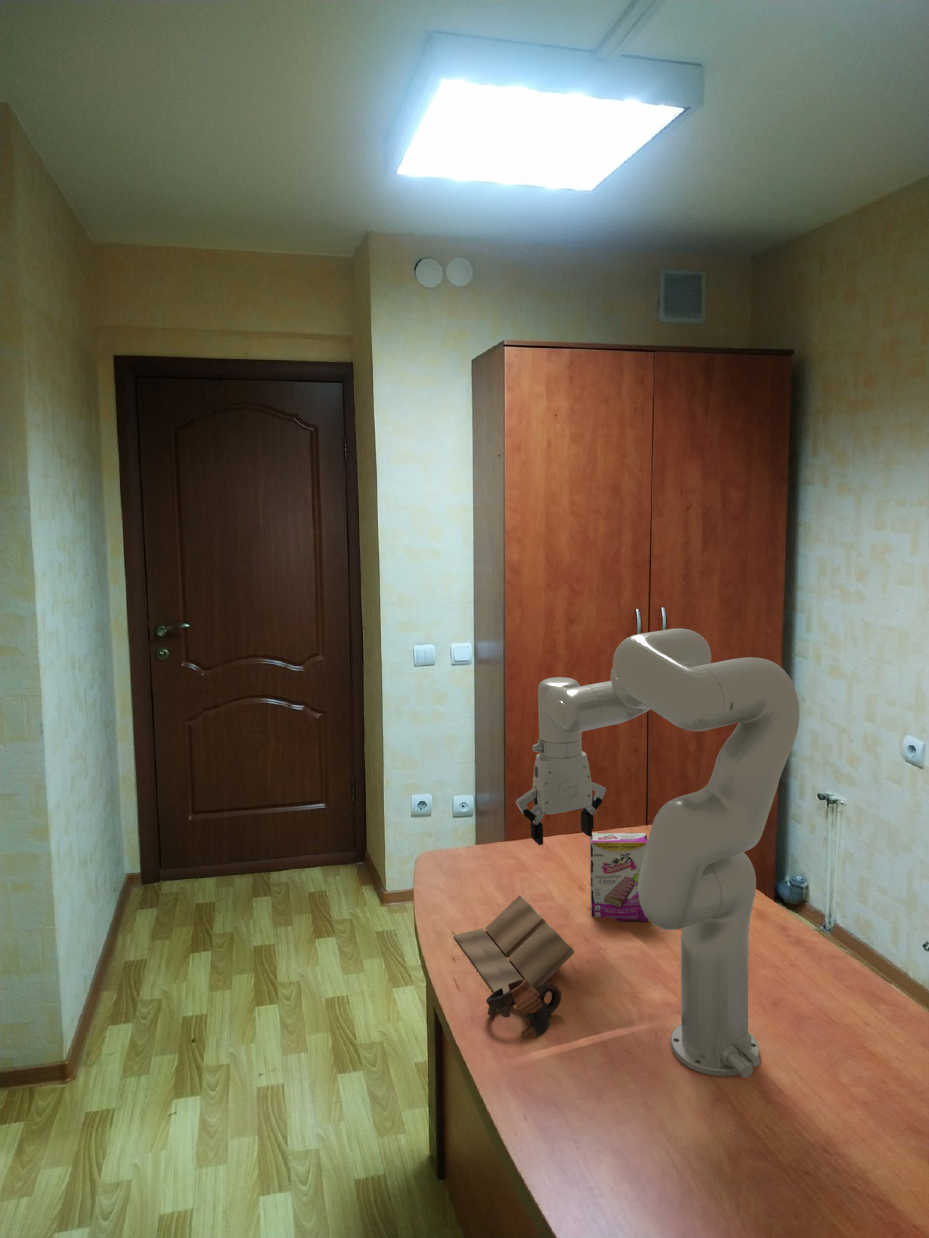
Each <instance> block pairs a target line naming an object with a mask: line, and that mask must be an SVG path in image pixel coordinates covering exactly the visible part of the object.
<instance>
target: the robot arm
mask: <svg viewBox="0 0 929 1238" xmlns="http://www.w3.org/2000/svg"><path fill="white" fill-rule="evenodd" d="M610 670H611V671H610V680H608V681H600V682H596V683H592V684H585V685H580V683H579V682H578V681H577V680H576V679H573V678H571V677H566V676H565V677H563V676H562V677H561V676H557V677H548V678H545V679H543V680H542V681H540V683H539V684H538V687H537V705H538V709H537V710H538V734H539V735H538V736H539V737H538V738H537V743H535V744H532V751H533V752H534V753H535V752H536V753H538V754H536V757H535V760H534V768H533V773H532V774H533V777H532V788H531V789H530V790H528V791H526V792H525V793H524V794H523V795H521V796H520V797H519V798H517V799H516V800H515V804H516V805H517V807H518V809H519V811H520V812H521V814H522V815H523V816H524V817H525V818H527V819H528V820H529V821H530V837H531V839H532V840H533V841H534V842H535V843H536V844H537V845H538V846H542V845H544V825H543V823H542V822H541V821H542V819H544V817H545V816H546V815H554V814H562V813H567V812H573V811H578V810H581V811H580V831H581V832H583V834H585V835H586V836H588V837H590V836H592V833H593V830H594V815H596V813H597V809H598V808H599V807H600V806H601V805H602V802H603V801H602V800H603V799H604V797H605V794H606V791H607V788H606V787H604V786H603V785H601V784H598V783H595V782H593V781H592V777H591V771H590V770H591V769H590V766H589V760H588V755H587V753H586V752H585V751H583V749H582V745H583V744H582V740H583V739H582V733H583V732H586V731H587V732H588V731H591V730H595V729H601V728H604V727H608V726H609V727H610V726H615V725H619V724H622V723H624V722H627V721H630V720H633V719H634V718H636V717H639V716H641V715H643V714H645V713H647V712H649V710H651V711H653V712H654V713H656V714H657V715H659V716H661V717H662V719H665V720H666V721H668V722H670V723H671V724H672V725H674V726H676V727H677V728H680V729H682V730H686V731H689V732H703V731H704V732H705V731H710V730H712V729H713V730H714V729H718V728H722V727H727V726H729V725H730V726H731V725H736V724H737V725H736V727H735V729H734V730H733V732H732V733H731V734H730V735H729V737H728V738H727V739H726V740H725V742H724V743H723V745H722V747H720V750H719V752H718V754H717V756H716V759H715V763H714V767H713V770H712V773H711V776H710V778H709V781H708V782H707V784H706V785H705V786H704V787H703V788H701V789H699V790H697V791H695V792H691V793H688V794H684V795H681V796H680V795H679V796H677V797H675V798H673V799H670V800H669V801H667V802H666V803H665V804H663V806H661V808H660V809H659V810H658V812H657V813H656V815H655V816H654V818H653V822H652V825H651V827H650V831H649V836H648V838H647V839H648V843H647V847H646V851H645V854H644V858H643V862H642V866H641V870H640V875H639V882H638V895H639V901H640V905H641V907H642V910H643V912H644V914H645V916H646V917H647V918H648V922H650V923H651V924H652V925H653V926H654V927H657V928H659V929H660V930H661V929H662V930H664V931H665V930H667V931H677V930H681V933H680V994H681V995H680V999H681V1000H680V1002H681V1005H680V1007H681V1008H680V1009H681V1012H680V1013H681V1014H680V1017H681V1023H680V1024H679V1025H678V1026H676V1027H675V1028H674V1029H673V1031H672V1033H671V1036H670V1046H671V1047H670V1048H671V1051H672V1053H673V1055H674V1056H675V1057H676V1058H677V1060H678V1061H680V1062H681V1063H682V1064H683V1065H684V1066H686V1067H688V1068H690V1069H691V1070H693V1071H696V1072H699V1073H702V1074H705V1075H709V1076H714V1077H733V1076H738V1075H740V1076H741V1077H742V1078H744V1079H747V1078H750V1077H751V1076H752V1074H753V1071H754V1070H753V1068H754V1067H758V1066H759V1065H760V1064H761V1058H760V1046H759V1043H758V1041H757V1040H756V1038H755V1037H754V1036H753V1034H752V1033H751V1032H749V943H750V942H749V937H750V924H751V916H752V911H753V906H754V901H755V897H756V891H757V880H756V879H757V876H756V871H755V868H754V865H753V863H752V861H751V859H750V858H749V856H748V855H747V854H746V852H747V851H749V850H751V849H753V848H754V847H755V846H756V845H757V844H758V843H760V840H761V838H762V836H763V833H764V830H765V827H766V825H767V821H768V817H769V814H770V811H771V809H772V806H773V802H774V799H775V796H776V793H777V789H778V786H779V783H780V778H781V776H782V773H783V770H784V768H785V766H786V763H787V761H788V760H789V756H790V754H791V751H792V749H793V746H794V744H795V740H796V738H797V735H798V730H799V725H800V715H801V711H800V704H799V703H800V701H799V698H798V694H797V690H796V688H795V685H794V683H793V681H792V679H791V678H790V676H789V675H788V673H787V672H786V670H785V669H783V668H782V667H781V665H779V664H777V663H776V662H774V661H772V660H770V659H766V658H760V657H751V656H749V657H739V658H732V659H725V660H722V661H721V660H720V661H718V662H712V651H711V648H710V645H709V642H708V641H707V640H706V639H705V638H704V637H703V636H702V635H701V634H699V632H696V631H694V630H691V629H689V628H688V629H687V628H678V627H677V628H670V629H663V630H658V631H656V630H655V631H649V632H644V633H643V632H642V633H638V634H637V633H636V634H632V635H631V636H629V637H626V638H625V639H624V640H622V641H621V642H620V644H619V645H618V646H617V648H616V649H615V652H614V654H613V658H612V668H611V669H610ZM593 791H594V795H593ZM531 801H532V804H533V807H532V809H530V810H529V807H528V804H529V803H530V802H531Z"/></svg>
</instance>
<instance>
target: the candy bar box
mask: <svg viewBox="0 0 929 1238" xmlns="http://www.w3.org/2000/svg"><path fill="white" fill-rule="evenodd" d="M648 839H649V838H648V835H647V833H645V832H592V836H589V862H590V863H589V865H590V866H589V868H590V869H589V874H590V875H589V876H590V879H589V880H590V881H589V882H590V886H589V887H590V914H591V917H592V918H613V919H614V920H616V921H617V922H649V920H648V918H647V917H646V916H645V914H644V912H643V910H642V907H641V905H640V901H639V895H638V882H639V875H640V870H641V866H642V862H643V858H644V854H645V851H646V847H647V843H648Z"/></svg>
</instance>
